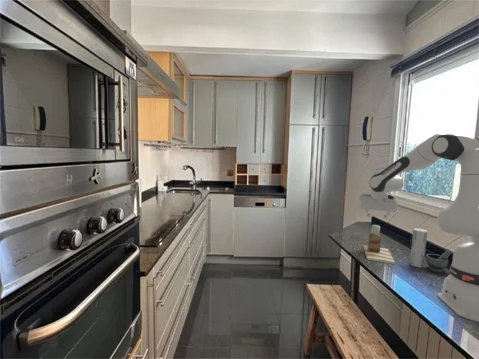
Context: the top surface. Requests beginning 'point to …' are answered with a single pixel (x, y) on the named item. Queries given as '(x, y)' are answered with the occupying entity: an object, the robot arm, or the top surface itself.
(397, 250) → the top surface
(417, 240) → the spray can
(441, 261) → the mortar and pestle
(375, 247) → the base block
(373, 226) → the canister
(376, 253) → the board
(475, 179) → the robot arm
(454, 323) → the top surface
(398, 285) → the top surface
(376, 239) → the top block
